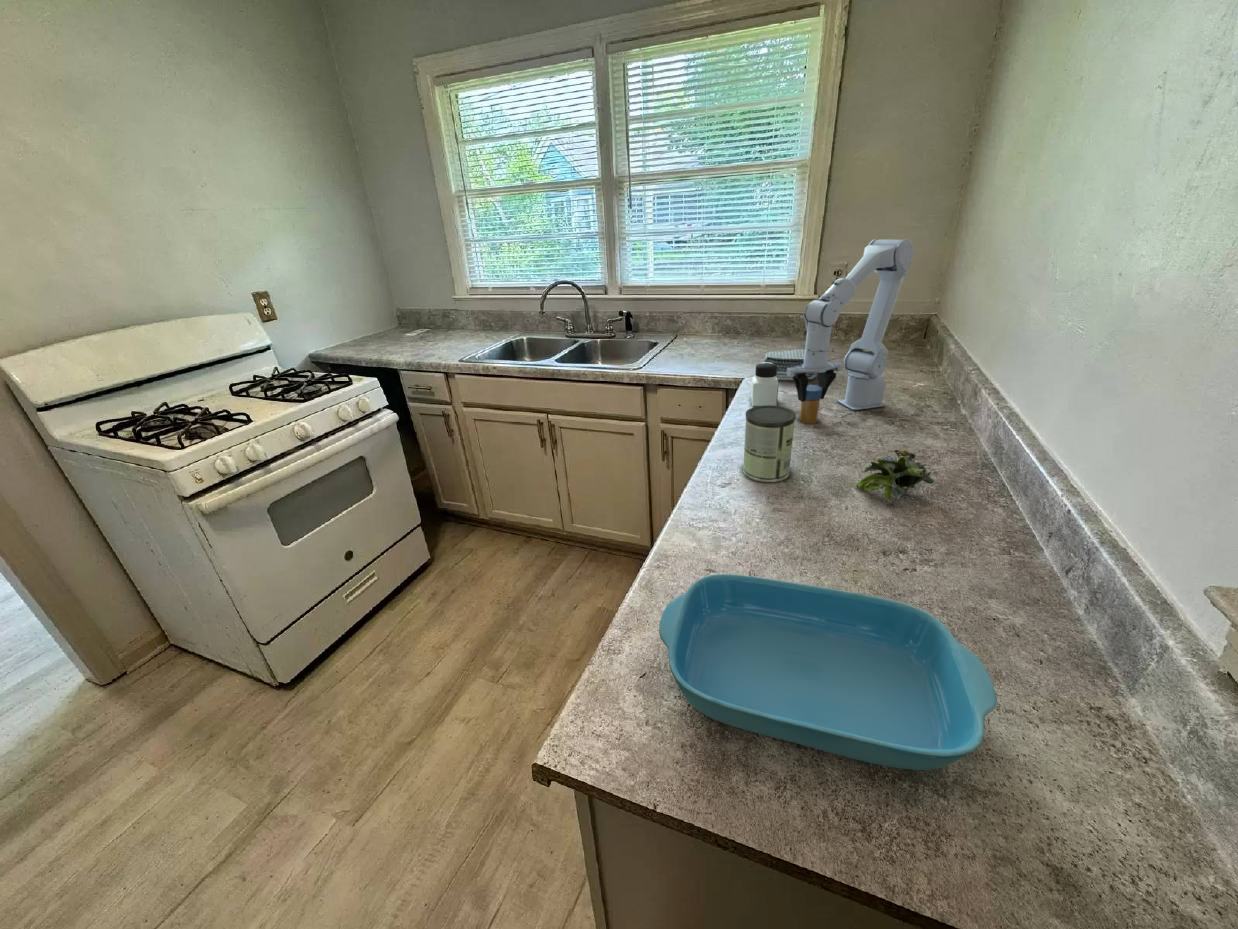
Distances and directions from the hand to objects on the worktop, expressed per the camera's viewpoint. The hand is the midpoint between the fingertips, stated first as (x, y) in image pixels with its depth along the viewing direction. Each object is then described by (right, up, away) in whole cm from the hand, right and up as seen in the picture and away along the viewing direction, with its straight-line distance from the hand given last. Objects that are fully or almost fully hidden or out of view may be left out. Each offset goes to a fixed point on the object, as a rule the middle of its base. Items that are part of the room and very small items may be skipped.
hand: (810, 399), depth 133 cm
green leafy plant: (+3, -24, -34) cm, 42 cm away
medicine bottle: (-8, +1, +17) cm, 19 cm away
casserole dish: (-28, -45, -71) cm, 89 cm away
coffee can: (-19, -19, -22) cm, 35 cm away
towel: (+8, +14, +40) cm, 43 cm away
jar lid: (0, +2, -1) cm, 3 cm away
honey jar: (0, -5, +3) cm, 6 cm away
